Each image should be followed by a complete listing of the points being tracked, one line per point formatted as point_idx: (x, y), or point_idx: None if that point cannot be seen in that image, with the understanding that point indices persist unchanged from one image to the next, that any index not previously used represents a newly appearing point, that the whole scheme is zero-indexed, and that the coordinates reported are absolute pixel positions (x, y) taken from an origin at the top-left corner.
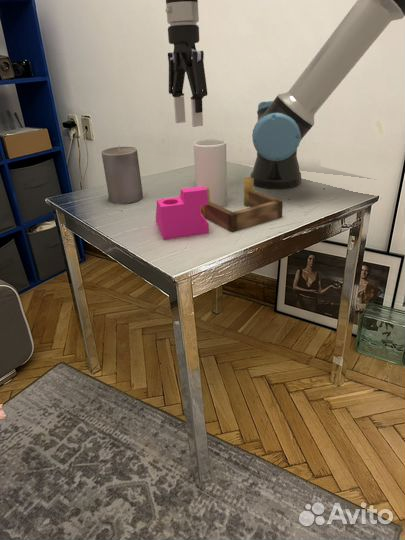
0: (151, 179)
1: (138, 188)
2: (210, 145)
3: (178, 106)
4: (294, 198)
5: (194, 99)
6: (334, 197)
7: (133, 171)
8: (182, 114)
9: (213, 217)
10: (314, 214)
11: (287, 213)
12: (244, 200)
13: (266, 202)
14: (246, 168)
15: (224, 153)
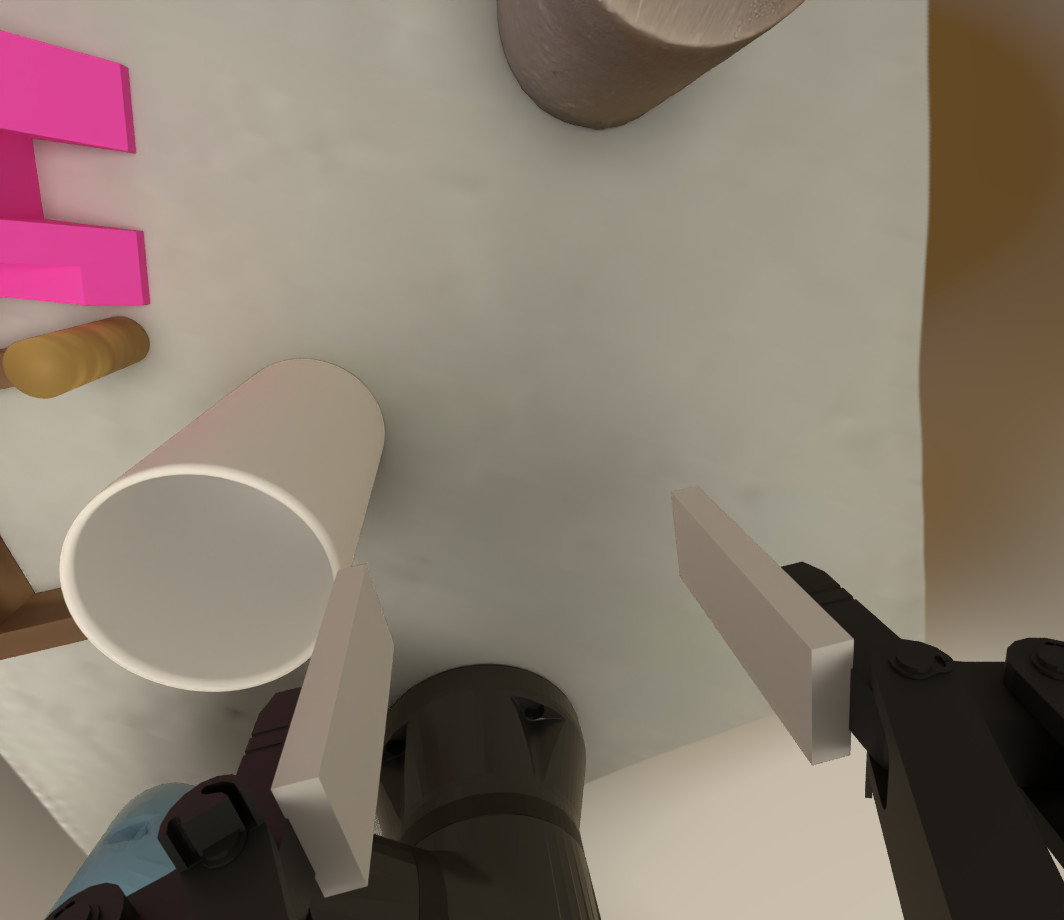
0: (855, 271)
1: (532, 71)
2: (60, 559)
3: (745, 608)
4: (241, 734)
5: (280, 810)
6: None
7: (532, 1)
8: (706, 592)
9: (1, 350)
10: (24, 726)
11: (64, 652)
12: None
13: (50, 613)
14: (727, 717)
15: (152, 618)
